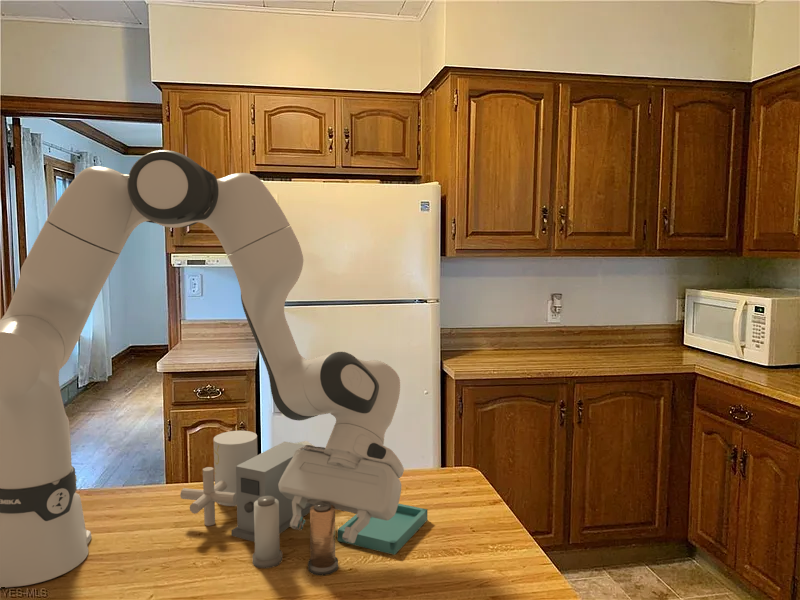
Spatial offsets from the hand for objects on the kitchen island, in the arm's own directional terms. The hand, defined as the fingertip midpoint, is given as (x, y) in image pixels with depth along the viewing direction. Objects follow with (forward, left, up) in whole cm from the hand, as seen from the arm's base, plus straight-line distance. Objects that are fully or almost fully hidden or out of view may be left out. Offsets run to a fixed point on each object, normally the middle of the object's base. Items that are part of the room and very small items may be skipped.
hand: (321, 534), depth 98 cm
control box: (-16, +10, -5) cm, 20 cm away
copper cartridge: (0, 0, -6) cm, 6 cm away
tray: (+3, +15, -5) cm, 17 cm away
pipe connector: (-26, +4, -6) cm, 27 cm away
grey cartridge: (-9, -2, -6) cm, 11 cm away
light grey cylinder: (-29, +15, -6) cm, 33 cm away
